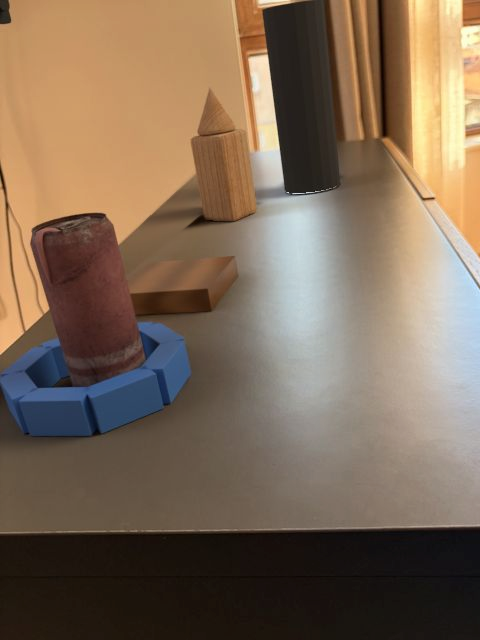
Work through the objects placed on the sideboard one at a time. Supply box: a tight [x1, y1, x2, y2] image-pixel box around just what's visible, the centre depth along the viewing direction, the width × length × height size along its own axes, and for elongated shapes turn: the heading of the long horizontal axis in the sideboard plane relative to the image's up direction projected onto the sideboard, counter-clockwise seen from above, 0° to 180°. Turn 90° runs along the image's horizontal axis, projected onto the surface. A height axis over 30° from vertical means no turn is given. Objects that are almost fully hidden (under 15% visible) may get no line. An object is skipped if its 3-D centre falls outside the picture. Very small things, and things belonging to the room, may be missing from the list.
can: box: [29, 212, 146, 387], centre depth 49 cm, size 6×6×14 cm
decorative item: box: [190, 87, 258, 222], centre depth 101 cm, size 7×7×20 cm
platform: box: [127, 255, 239, 316], centre depth 71 cm, size 11×11×2 cm
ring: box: [0, 321, 192, 437], centre depth 52 cm, size 14×14×3 cm
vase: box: [261, 0, 341, 193], centre depth 111 cm, size 10×10×30 cm
